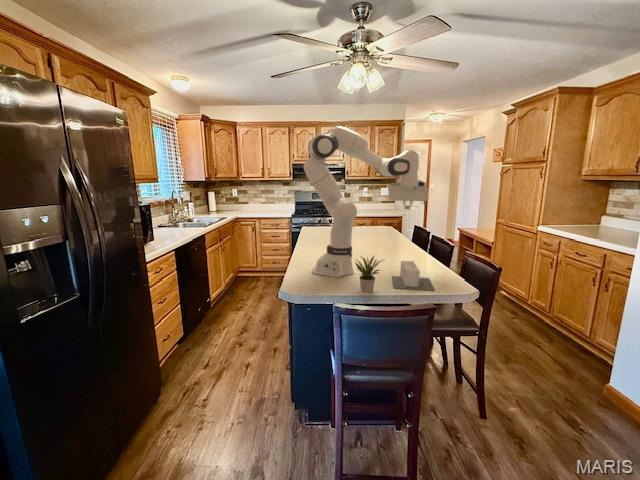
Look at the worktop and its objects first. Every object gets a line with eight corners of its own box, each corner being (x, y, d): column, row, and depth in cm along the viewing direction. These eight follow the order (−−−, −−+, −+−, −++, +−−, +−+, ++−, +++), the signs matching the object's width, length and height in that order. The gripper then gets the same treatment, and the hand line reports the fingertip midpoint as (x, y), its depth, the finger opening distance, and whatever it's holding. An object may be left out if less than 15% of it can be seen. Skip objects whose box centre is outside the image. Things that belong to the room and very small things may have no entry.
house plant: (381, 284, 143) (382, 251, 140) (388, 295, 130) (390, 259, 126) (351, 284, 143) (352, 251, 139) (355, 296, 129) (356, 259, 126)
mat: (393, 288, 138) (393, 287, 138) (392, 277, 154) (392, 275, 154) (434, 291, 135) (434, 289, 135) (428, 279, 150) (429, 278, 150)
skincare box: (412, 276, 153) (418, 288, 138) (399, 275, 154) (404, 287, 139) (413, 260, 151) (420, 271, 136) (400, 259, 152) (405, 270, 137)
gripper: (388, 183, 157) (387, 209, 160) (429, 183, 153) (427, 210, 156) (388, 182, 163) (387, 208, 166) (427, 182, 159) (426, 209, 162)
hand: (407, 209), depth 161 cm, fingers closed
